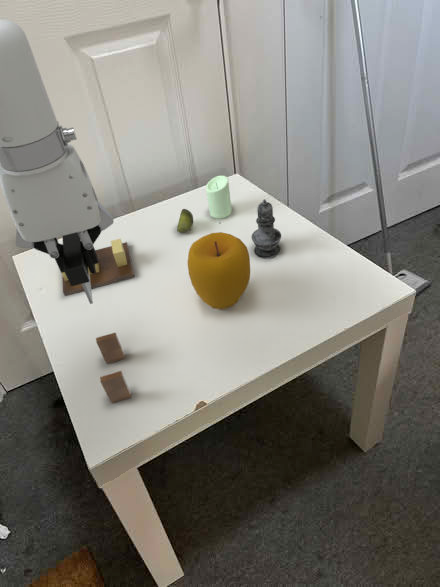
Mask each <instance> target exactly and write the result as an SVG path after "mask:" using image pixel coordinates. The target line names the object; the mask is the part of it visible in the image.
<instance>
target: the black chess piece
mask: <svg viewBox="0 0 440 587" xmlns="http://www.w3.org/2000/svg"><path fill="white" fill-rule="evenodd" d="M256 210H257V212H256V213H257V218H256V219H255V223H256V224H257V229H256V230H255V231H253V233H252V234H251V241H252V242H253V244H254V249H253V253H254V255H255V256H256V257H258V258H260V259H265V260H266V259H267V260H268V259H272V258H275V257H277V256H278V255H279V254H280V252H281V247H280V245H279V243H280V241H281V239H282V233H281V231H280V230H278V229H277V228H275V225H274V224H275V222H276V218H275V216H274V212H273V211H274V209H273V205H272V203H271V202H268V201H267V200H266V199H263V200H262V202H260V203H259V204H258V205H257V208H256Z"/></svg>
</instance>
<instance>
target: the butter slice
mask: <svg viewBox="0 0 440 587" xmlns="http://www.w3.org/2000/svg"><path fill="white" fill-rule="evenodd" d="M122 243H123V242H122V239H121V238H117V239H113V240H111V241H110V246H112V250H113V255H114V258H115V261H116V263H117V266H118V267H120V266H124V265H127V260H126V255H125V251H124V248H123V245H122Z"/></svg>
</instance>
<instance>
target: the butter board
mask: <svg viewBox="0 0 440 587" xmlns="http://www.w3.org/2000/svg"><path fill="white" fill-rule="evenodd" d="M122 245H123V248H124V251H125V255H126V260H127V265H124V266H120V267H118V266H117V263H116V261H115V258H114V255H113V250H112V245H110V246H106V247H103V248H97V249H95V251H96V254H97V257H98V261H99V271H100V272H97V273H94V274H90V282H91V290H92V289H95V288H99V287H104V286H107V285H111V284H114V283H118V282H122V281H125V280H129V279H133V278H136V277H135V273H134V272H135V271H134V267H133V263H132V258H131V254H130V249H129V244H128V242H127V241H126V242H122ZM61 279H62V293H63V295H64V297H65V296H69V295H73V294H78V293H80V292H85V291H84V289H83V286H82V284H79V285H75V286H71V285H70V283H69V280H67V281H65V280H64V278H63V276H62V278H61Z"/></svg>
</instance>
